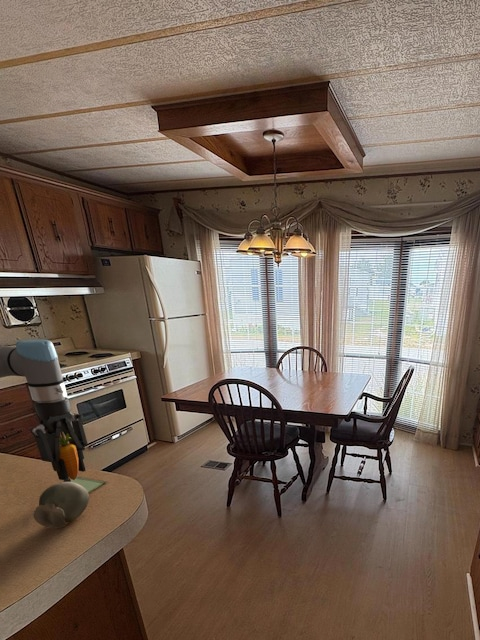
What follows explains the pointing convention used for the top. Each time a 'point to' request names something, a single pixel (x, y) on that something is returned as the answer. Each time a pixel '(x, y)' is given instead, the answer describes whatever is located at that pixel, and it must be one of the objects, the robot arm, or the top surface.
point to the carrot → (69, 457)
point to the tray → (88, 483)
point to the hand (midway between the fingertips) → (72, 474)
